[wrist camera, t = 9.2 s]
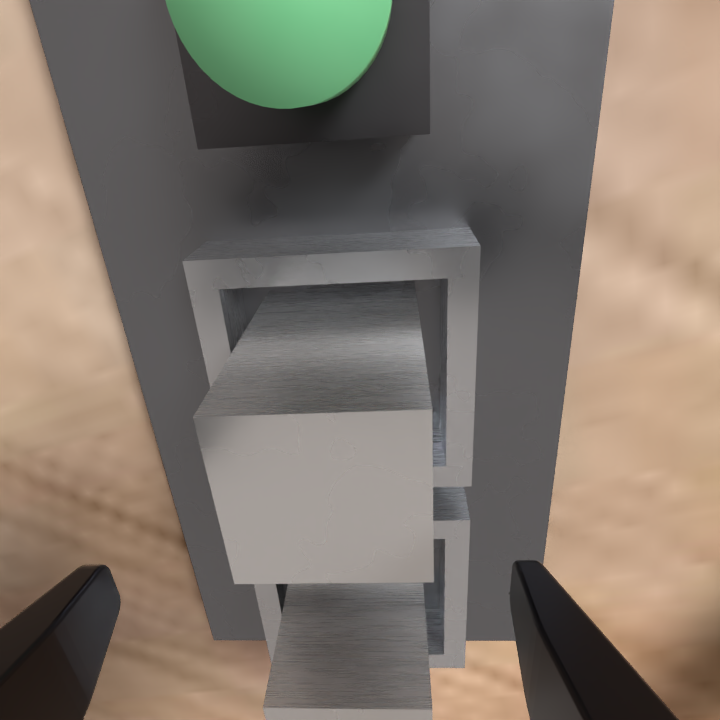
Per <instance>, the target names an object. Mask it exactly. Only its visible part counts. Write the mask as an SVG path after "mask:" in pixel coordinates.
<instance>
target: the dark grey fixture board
mask: <svg viewBox="0 0 720 720" xmlns="http://www.w3.org/2000/svg"><path fill="white" fill-rule="evenodd" d="M29 1H30V4H31V8H32V11H33V15H34V18H35V22H36V25H37V29H38V32H39V36H40V39H41V43H42V46H43V49H44V53H45V56H46V60H47V63H48V67H49V70H50V74H51V77H52V81H53V84H54V88H55V91H56V95H57V98H58V101H59V105H60V108H61V112H62V115H63V119H64V122H65V126H66V129H67V133H68V136H69V140H70V143H71V146H72V150H73V153H74V157H75V160H76V164H77V167H78V171H79V174H80V178H81V181H82V185H83V188H84V191H85V195H86V198H87V202H88V205H89V209H90V212H91V216H92V219H93V223H94V226H95V230H96V233H97V236H98V240H99V243H100V247H101V250H102V254H103V257H104V261H105V264H106V268H107V271H108V275H109V278H110V281H111V285H112V288H113V292H114V295H115V299H116V302H117V306H118V309H119V313H120V316H121V320H122V323H123V326H124V330H125V333H126V337H127V340H128V344H129V347H130V351H131V354H132V358H133V361H134V365H135V368H136V371H137V375H138V378H139V382H140V385H141V389H142V392H143V396H144V399H145V403H146V406H147V410H148V413H149V416H150V420H151V423H152V427H153V430H154V434H155V437H156V441H157V444H158V448H159V451H160V455H161V458H162V461H163V465H164V468H165V472H166V475H167V479H168V482H169V486H170V489H171V493H172V496H173V500H174V503H175V506H176V510H177V513H178V517H179V520H180V524H181V527H182V531H183V534H184V538H185V541H186V545H187V548H188V551H189V555H190V558H191V562H192V565H193V569H194V572H195V576H196V579H197V583H198V586H199V590H200V593H201V596H202V600H203V603H204V607H205V610H206V614H207V617H208V621H209V624H210V628H211V631H212V635H213V638H214V640H266V642H267V646H268V651H269V655H270V660H271V664H272V661H273V656H274V651H275V646H276V641H277V636H278V631H279V626H280V621H281V617H282V612H283V607H284V602H285V597H286V592H287V587H288V584H234V580H233V576H232V572H231V568H230V564H229V560H228V556H227V552H226V548H225V544H224V540H223V536H222V532H221V528H220V524H219V520H218V516H217V512H216V508H215V504H214V500H213V496H212V492H211V488H210V484H209V480H208V476H207V472H206V468H205V464H204V460H203V456H202V452H201V448H200V444H199V440H198V436H197V432H196V428H195V424H194V420H193V416H194V415H195V413H196V411H197V410H198V408H199V406H200V405H201V403H202V401H203V400H204V398H205V396H206V395H207V393H208V391H209V390H210V388H211V386H212V385H213V383H214V381H215V380H216V378H217V376H218V375H219V373H220V371H221V370H222V368H223V366H224V365H225V363H226V361H227V360H228V358H229V356H230V355H231V353H232V351H233V350H234V348H235V346H236V345H237V343H238V341H239V340H240V338H241V336H242V335H243V333H244V331H245V330H246V328H247V326H248V325H249V323H250V321H251V320H252V318H253V316H254V315H255V313H256V311H257V310H258V308H259V306H260V305H261V303H262V301H263V300H264V298H265V296H266V295H267V293H268V291H273V290H293V289H313V288H332V287H352V286H372V285H392V284H412V283H415V289H416V296H417V303H418V311H419V318H420V325H421V332H422V339H423V346H424V353H425V361H426V368H427V375H428V382H429V389H430V396H431V403H432V428H433V546H434V582H423V587H424V601H425V615H426V629H427V643H428V657H429V668H465V645H466V641H516V639H515V633H514V627H513V621H512V615H511V608H510V584H511V573H512V565H513V563H514V562H515V561H517V560H537V561H539V562H540V563H542V565H543V561H544V553H545V545H546V537H547V529H548V521H549V513H550V505H551V497H552V489H553V482H554V474H555V466H556V458H557V450H558V442H559V434H560V426H561V418H562V410H563V402H564V394H565V386H566V379H567V371H568V363H569V355H570V347H571V339H572V331H573V323H574V315H575V307H576V299H577V291H578V283H579V276H580V268H581V260H582V252H583V244H584V236H585V228H586V220H587V212H588V204H589V196H590V188H591V180H592V173H593V165H594V157H595V149H596V141H597V133H598V125H599V117H600V109H601V101H602V93H603V85H604V77H605V70H606V62H607V54H608V46H609V38H610V30H611V22H612V14H613V6H614V0H392V8H391V16H390V21H389V25H388V29H387V33H386V36H385V38H384V41H383V44H382V46H381V48H380V50H379V52H378V54H377V56H376V58H375V60H374V61H373V63H372V64H371V66H370V67H369V69H368V70H367V71H366V73H365V74H364V75H363V76H362V77H361V78H360V79H359V81H357V82H356V83H355V84H354V85H353V86H352V87H351V88H349V89H348V90H347V91H345V92H344V93H342V94H341V95H339V96H337V97H335V98H333V99H331V100H329V101H326V102H323V103H320V104H316V105H311V106H305V107H299V108H292V109H276V108H269V107H263V106H259V105H256V104H253V103H249V102H247V101H245V100H243V99H240V98H238V97H236V96H234V95H233V94H231V93H230V92H228V91H226V90H225V89H223V88H222V87H221V86H219V85H218V84H217V83H216V82H214V81H213V80H212V79H211V78H210V77H209V76H208V75H207V74H206V73H205V72H204V71H203V70H202V69H201V68H200V67H199V66H198V64H197V63H196V62H195V60H194V59H193V58H192V57H191V55H190V54H189V52H188V51H187V49H186V47H185V46H184V44H183V43H182V41H181V39H180V37H179V35H178V33H177V31H176V29H175V27H174V25H173V22H172V19H171V16H170V14H169V11H168V8H167V4H166V0H29Z"/></svg>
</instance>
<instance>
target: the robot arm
mask: <svg viewBox="0 0 720 720" xmlns="http://www.w3.org/2000/svg"><path fill="white" fill-rule="evenodd" d="M510 608H511V615H512V621H513V627H514V633H515V639H516V645H517V651H518V657H519V663H520V669H521V675H522V681H523V687H524V693H525V698H526V703H527V708H528V712H529V716H530V720H679V719H678V718H677V717H676V716H675V715H674V714H673V712H672V711H671V710H670V709H669V708H668V707H667V706H666V704H665V703H664V702H663V701H662V700H661V699H660V698H659V696H658V695H657V694H656V693H655V692H654V691H653V690H652V689H651V687H650V686H649V685H648V684H647V683H646V682H645V681H644V679H643V678H642V677H641V676H640V675H639V674H638V673H637V671H636V670H635V669H634V668H633V667H632V666H631V665H630V663H629V662H628V661H627V660H626V659H625V658H624V657H623V656H622V654H621V653H620V652H619V651H618V650H617V649H616V648H615V646H614V645H613V644H612V643H611V642H610V641H609V640H608V638H607V637H606V636H605V635H604V634H603V633H602V632H601V630H600V629H599V628H598V627H597V626H596V625H595V624H594V623H593V621H592V620H591V619H590V618H589V617H588V616H587V615H586V613H585V612H584V611H583V610H582V609H581V608H580V607H579V605H578V604H577V603H576V602H575V601H574V600H573V599H572V597H571V596H570V595H569V594H568V593H567V592H566V591H565V590H564V588H563V587H562V586H561V585H560V584H559V583H558V582H557V580H556V579H555V578H554V577H553V576H552V575H551V574H550V572H549V571H548V570H547V569H546V568H545V567H544V566H543V565H542V563H540V562H539V561H537V560H517V561H515V562H514V563H513V565H512V573H511V584H510ZM119 610H120V595H119V592H118V590H117V587H116V584H115V582H114V579H113V577H112V574H111V572H110V569H109V568H108V567H107V566H106V565H83V566H81V567H79V568H77V569H76V570H75V571H73V572H72V573H71V574H70V575H68V576H67V577H66V578H65V579H63V580H62V581H61V582H59V583H58V584H57V585H56V586H54V587H53V588H52V589H50V590H49V591H48V592H47V593H45V594H44V595H43V596H41V597H40V598H39V599H38V600H36V601H35V602H34V603H32V604H31V605H30V606H29V607H27V608H26V609H25V610H23V611H22V612H21V613H20V614H18V615H17V616H16V617H15V618H13V619H12V620H11V621H9V622H8V623H7V624H6V625H4V626H3V627H2V628H0V720H83V719H84V716H85V714H86V711H87V709H88V706H89V704H90V701H91V698H92V695H93V692H94V689H95V686H96V683H97V680H98V677H99V674H100V671H101V667H102V664H103V661H104V658H105V655H106V652H107V648H108V645H109V642H110V639H111V636H112V633H113V629H114V626H115V623H116V620H117V617H118V614H119Z"/></svg>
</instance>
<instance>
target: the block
mask: <svg viewBox="0 0 720 720" xmlns="http://www.w3.org/2000/svg"><path fill="white" fill-rule="evenodd" d="M263 710H264V714H265V718H266V720H432V699H431V685H430V671H429V657H428V643H427V629H426V615H425V601H424V587H423V582H419V583H309V584H288V587H287V592H286V597H285V602H284V607H283V612H282V617H281V621H280V626H279V631H278V636H277V641H276V646H275V651H274V656H273V661H272V666H271V671H270V676H269V681H268V685H267V690H266V695H265V700H264V705H263Z"/></svg>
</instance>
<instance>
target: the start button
mask: <svg viewBox="0 0 720 720" xmlns="http://www.w3.org/2000/svg"><path fill="white" fill-rule="evenodd" d="M166 4H167V8H168V11H169V14H170V16H171V19H172V22H173V25H174V27H175V29H176V31H177V33H178V35H179V37H180V39H181V41H182V43H183V44H184V46H185V47H186V49H187V51H188V52H189V54H190V55H191V57H192V58H193V59H194V60H195V62H196V63H197V64H198V66H199V67H200V68H201V69H202V70H203V71H204V72H205V73H206V74H207V75H208V76H209V77H210V78H211V79H212V80H213V81H214V82H216V83H217V84H218V85H219V86H221V87H222V88H223V89H225V90H226V91H228V92H230V93H231V94H233V95H234V96H236V97H238V98H240V99H243V100H245V101H247V102H249V103H253V104H256V105H259V106H263V107H269V108H276V109H292V108H299V107H305V106H311V105H316V104H320V103H323V102H326V101H329V100H331V99H333V98H335V97H337V96H339V95H341V94H342V93H344V92H345V91H347V90H348V89H349V88H351V87H352V86H353V85H354V84H355V83H356V82H357V81H359V79H360V78H361V77H362V76H363V75H364V74H365V73H366V71H367V70H368V69H369V67H370V66H371V64H372V63H373V61H374V60H375V58H376V56H377V54H378V52H379V50H380V48H381V46H382V44H383V41H384V38H385V36H386V33H387V29H388V25H389V21H390V16H391V8H392V0H166Z"/></svg>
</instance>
